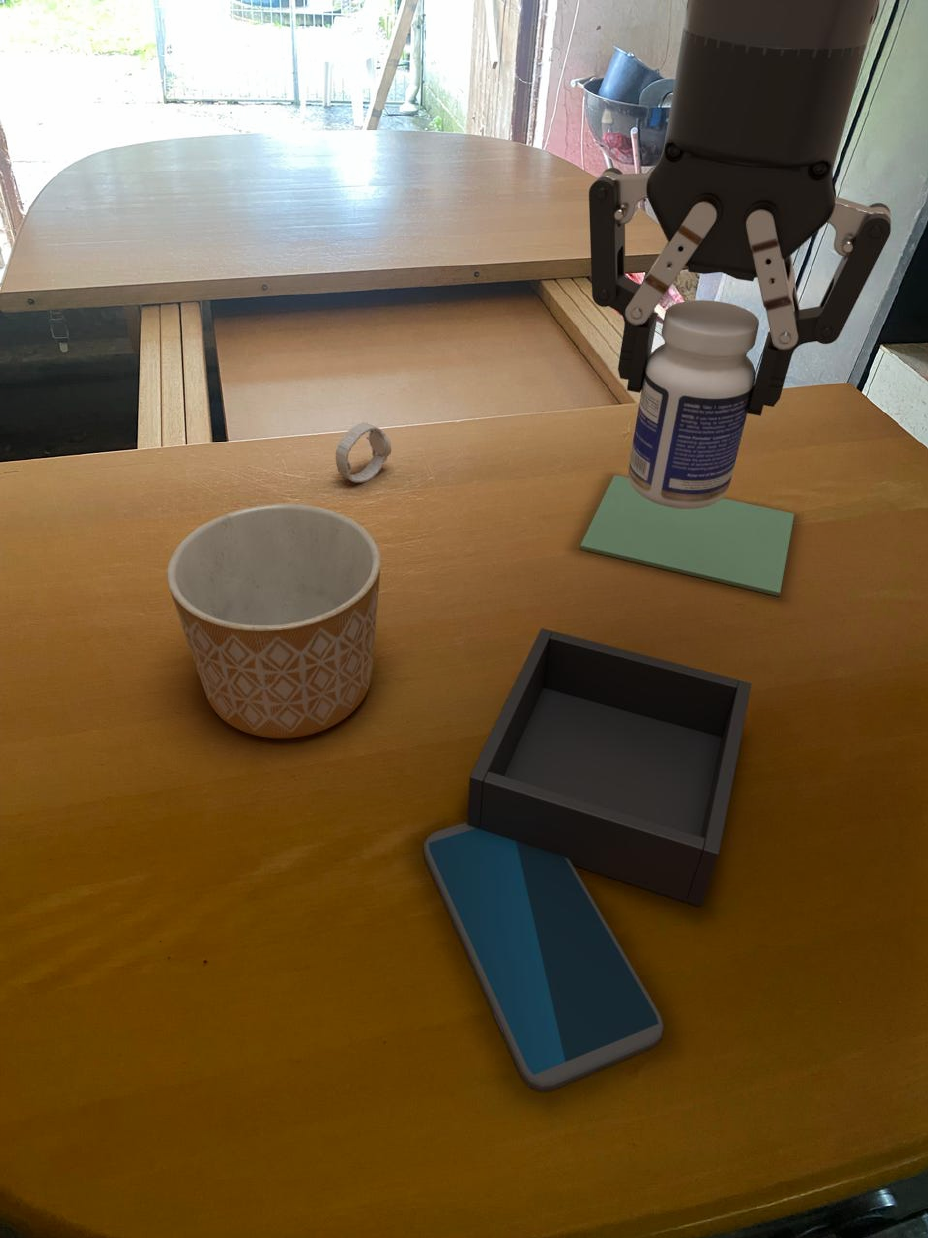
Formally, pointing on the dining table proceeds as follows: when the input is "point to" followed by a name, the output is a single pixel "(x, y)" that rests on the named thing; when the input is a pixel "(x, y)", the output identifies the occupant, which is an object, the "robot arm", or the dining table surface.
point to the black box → (614, 763)
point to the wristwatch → (378, 445)
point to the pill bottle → (694, 405)
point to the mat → (694, 538)
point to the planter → (279, 615)
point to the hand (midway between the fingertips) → (695, 396)
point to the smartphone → (541, 956)
